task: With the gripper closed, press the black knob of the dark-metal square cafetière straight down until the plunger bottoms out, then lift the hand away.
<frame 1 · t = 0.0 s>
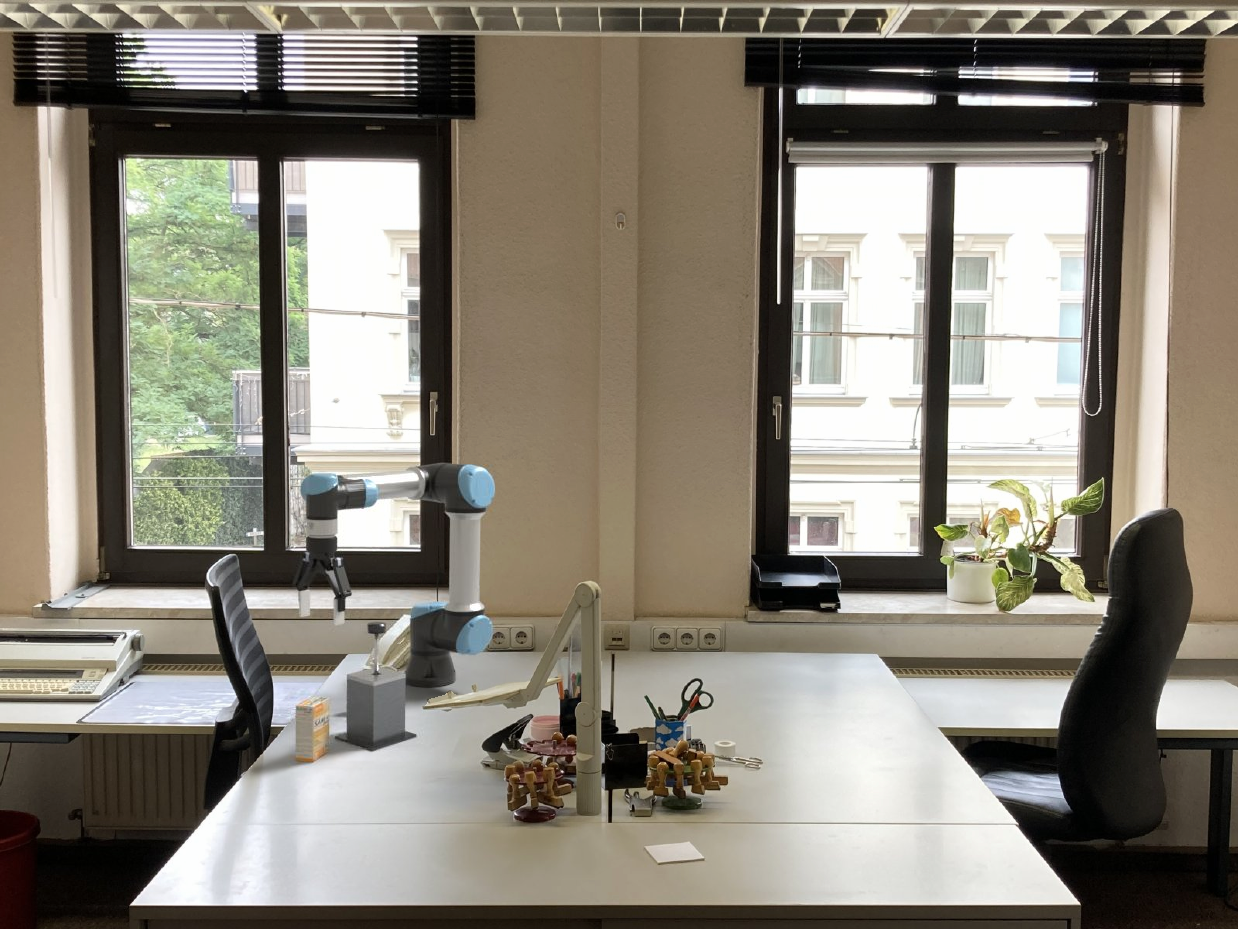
hand: (321, 620, 268), 28 cm above the table, fingers open, 13 cm apart
press: (375, 737, 265), on the table
supplement box: (312, 756, 251), on the table
plunger: (376, 653, 263), point 21 cm above the table, slide at 7.0 cm
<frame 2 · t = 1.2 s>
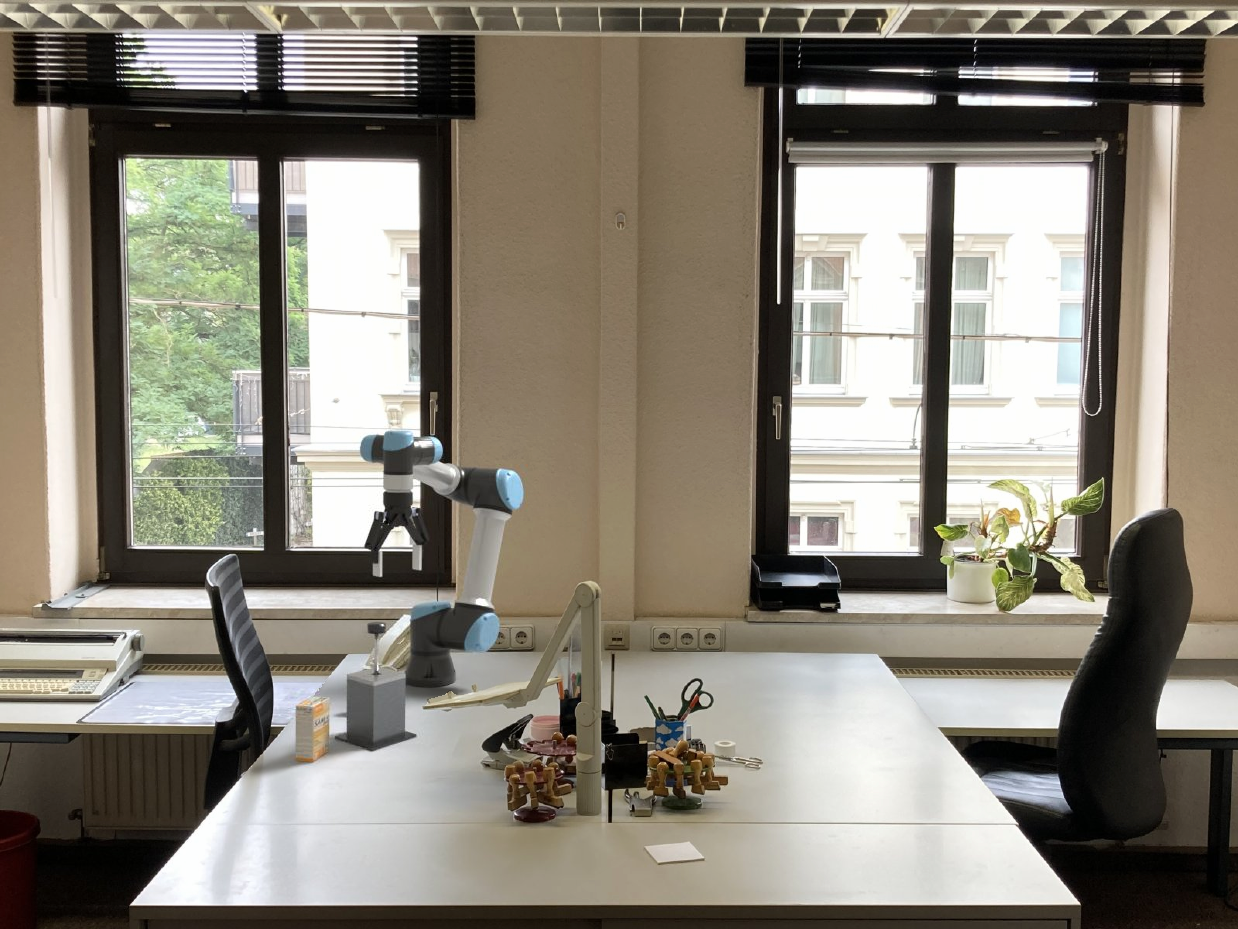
hand: (397, 572, 278), 38 cm above the table, fingers open, 12 cm apart
nothing on the table moved.
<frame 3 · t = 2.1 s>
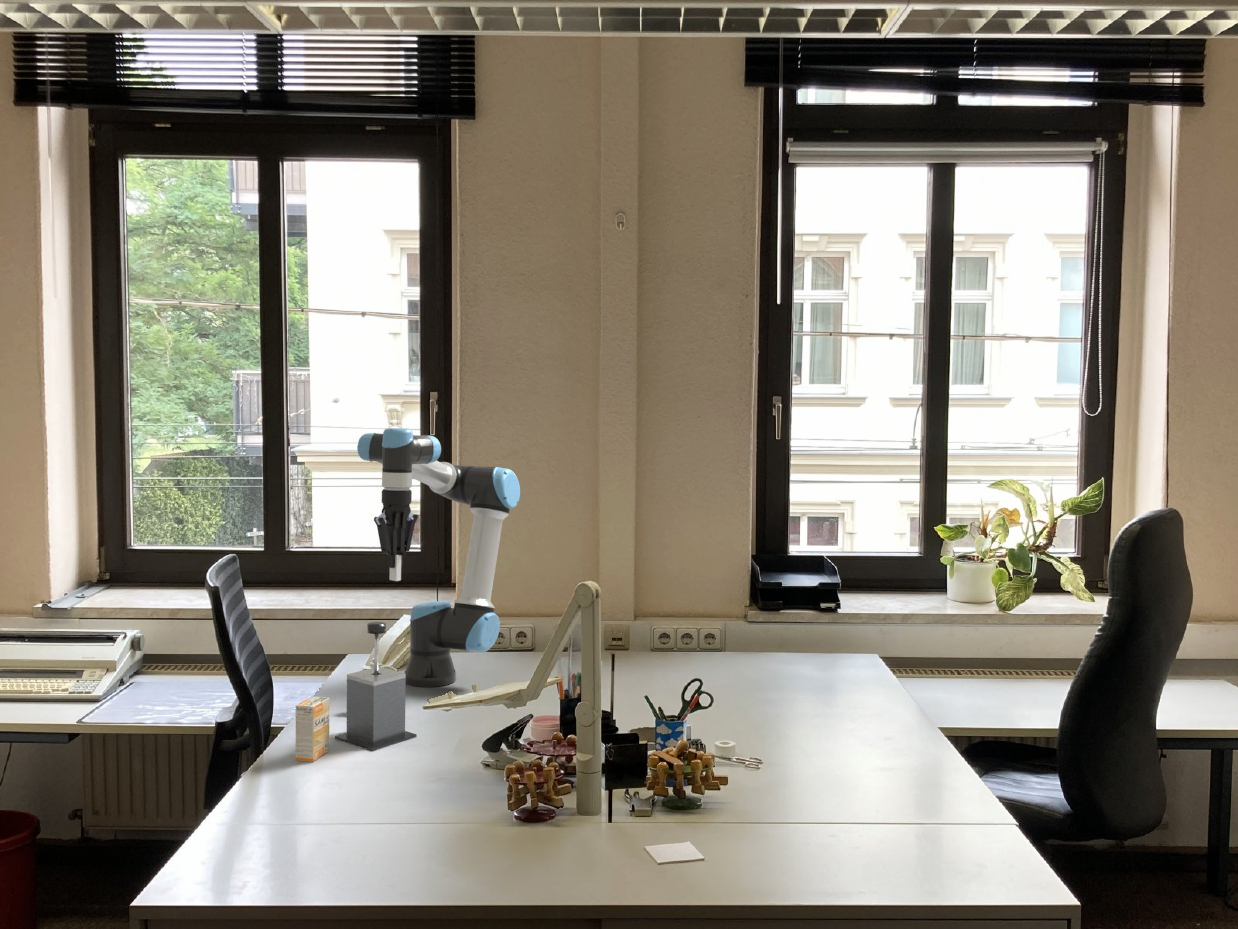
hand: (395, 580, 276), 37 cm above the table, fingers closed
nothing on the table moved.
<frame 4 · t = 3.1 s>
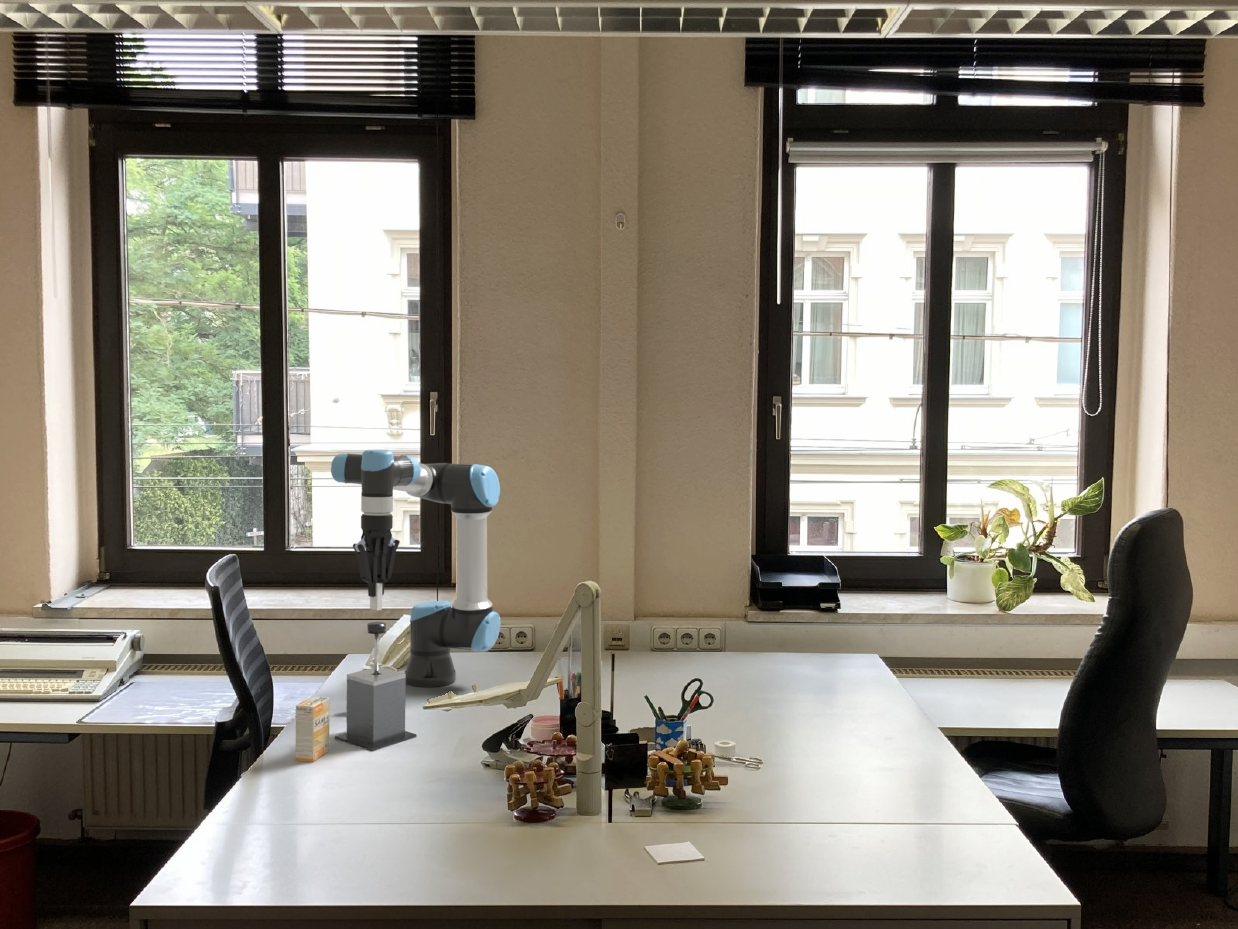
hand: (375, 609, 262), 32 cm above the table, fingers closed
nothing on the table moved.
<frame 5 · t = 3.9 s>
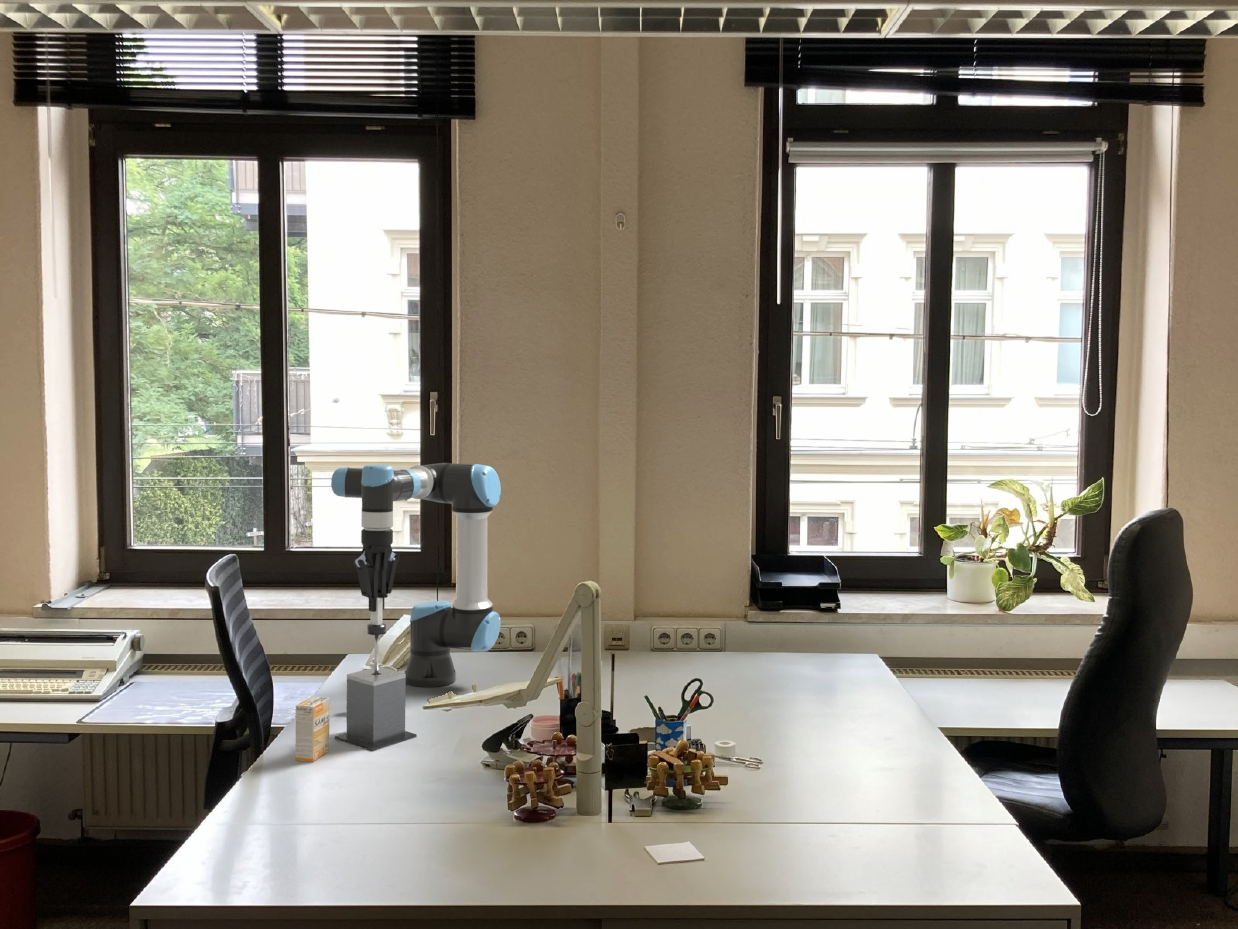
hand: (376, 623, 263), 29 cm above the table, fingers closed
plunger: (376, 654, 263), point 21 cm above the table, slide at 6.7 cm, touching gripper
everything else where it was.
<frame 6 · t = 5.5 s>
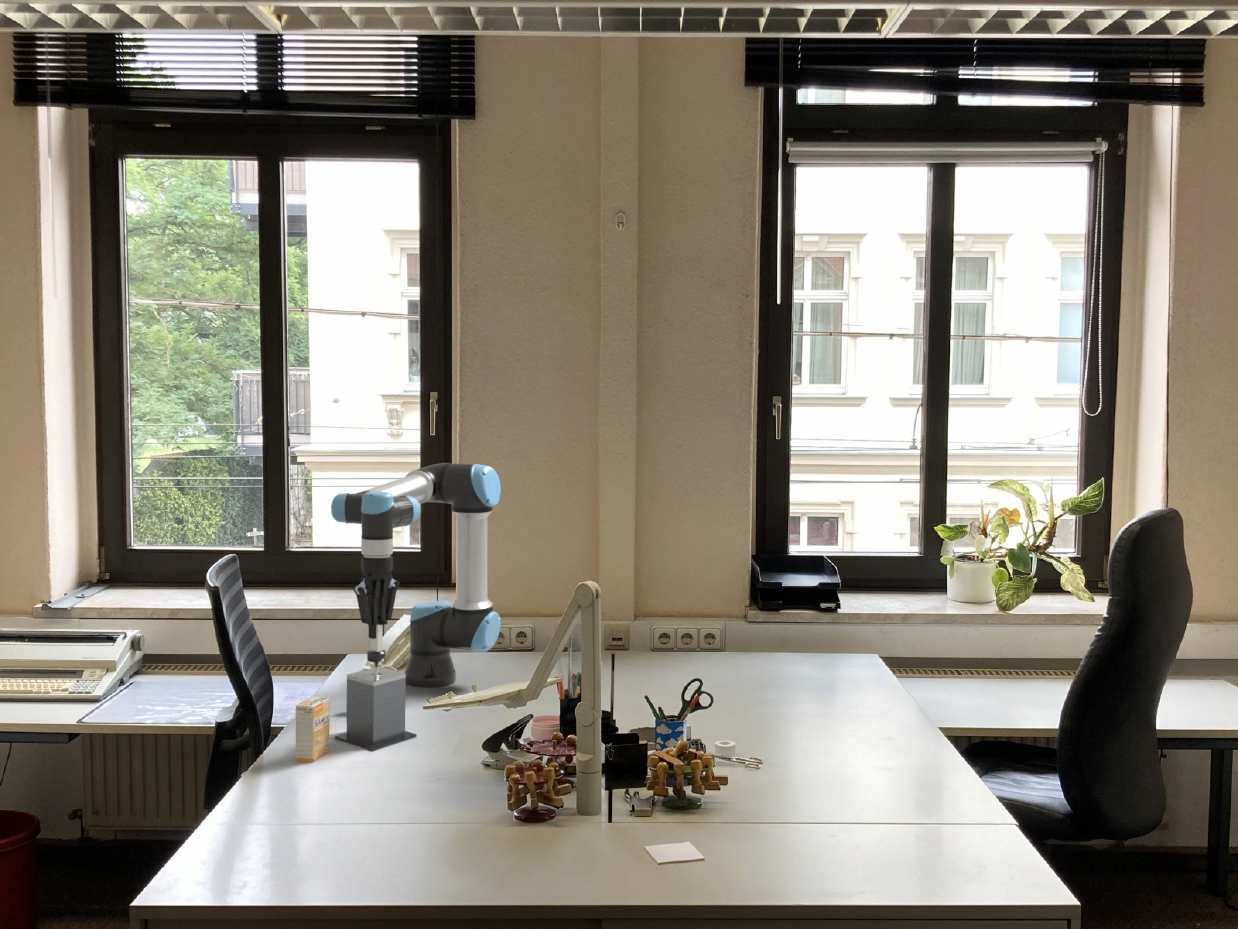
hand: (376, 650, 263), 22 cm above the table, fingers closed
plunger: (376, 680, 264), point 14 cm above the table, slide at 0.1 cm, touching gripper
everything else where it was.
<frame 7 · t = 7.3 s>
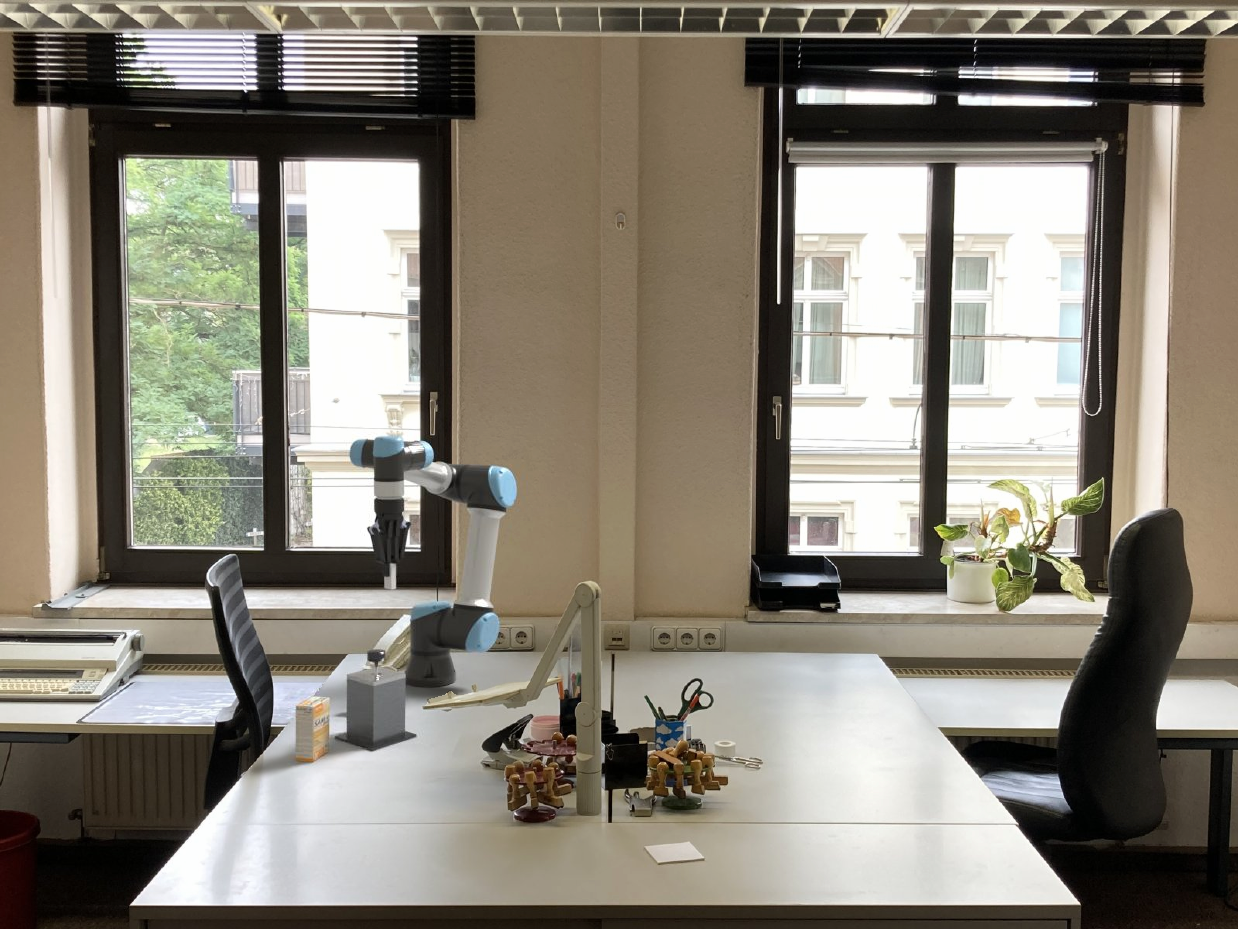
hand: (390, 588, 275), 35 cm above the table, fingers closed
plunger: (376, 680, 264), point 14 cm above the table, slide at 0.1 cm
everything else where it was.
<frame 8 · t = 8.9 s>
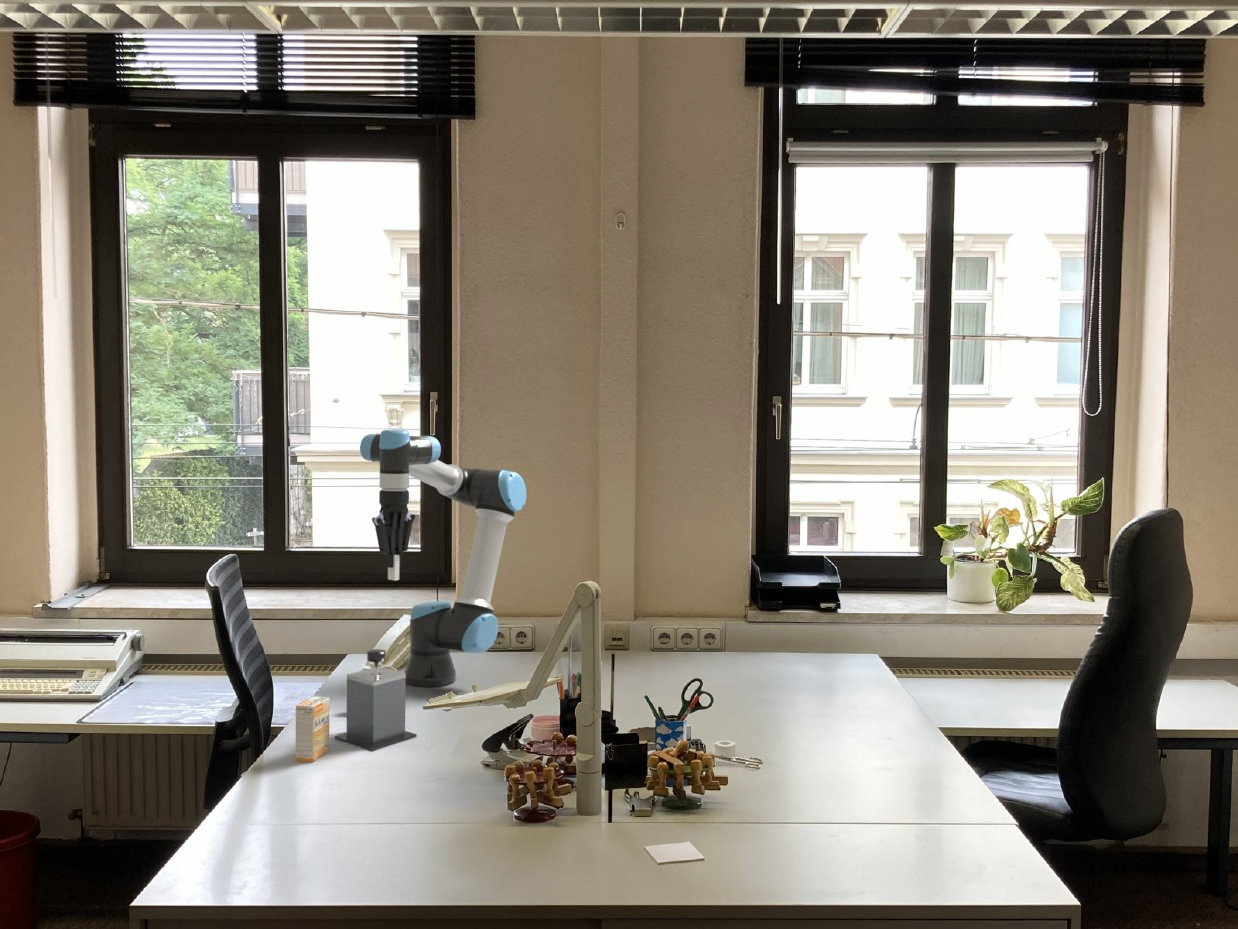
hand: (393, 579, 279), 36 cm above the table, fingers closed
nothing on the table moved.
at the end: plunger slide at 0.1 cm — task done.
